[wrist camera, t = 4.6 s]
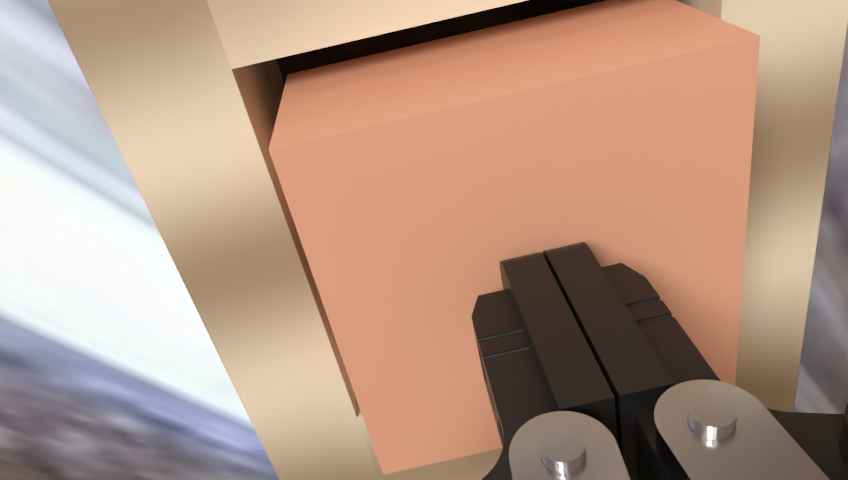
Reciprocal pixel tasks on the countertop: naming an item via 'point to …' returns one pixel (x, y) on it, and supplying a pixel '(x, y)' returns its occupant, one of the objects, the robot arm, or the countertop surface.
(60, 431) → the countertop surface
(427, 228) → the button
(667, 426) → the robot arm
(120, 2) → the button housing
